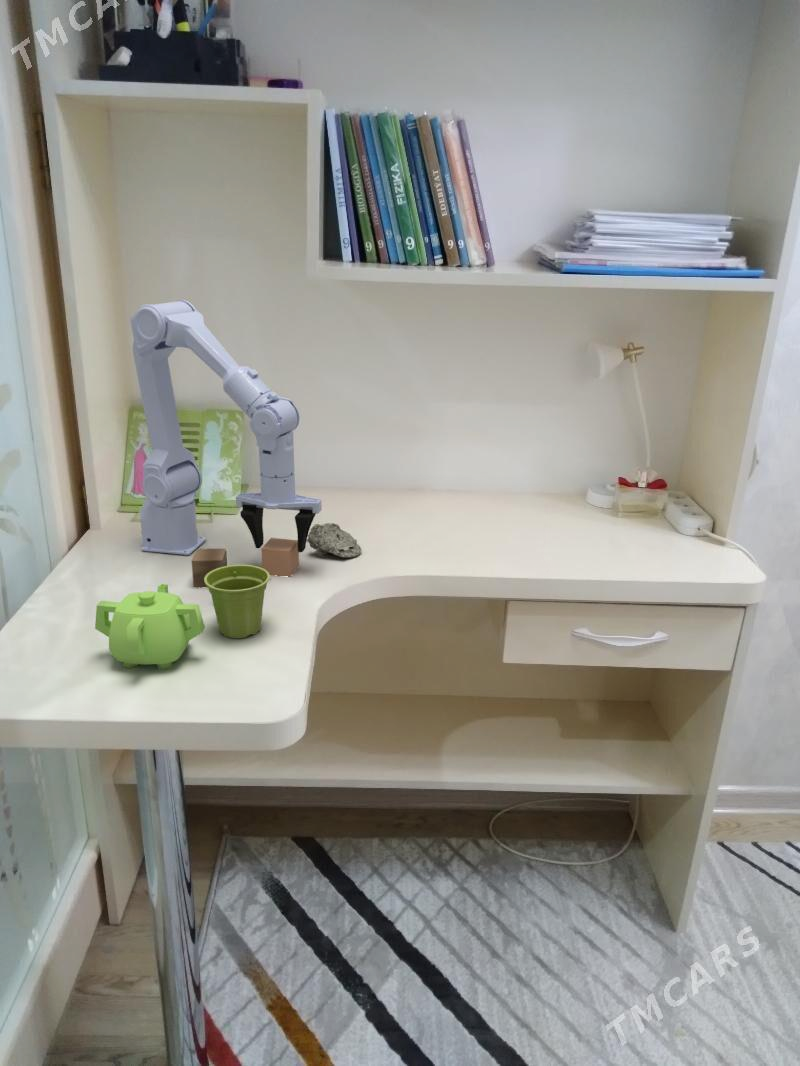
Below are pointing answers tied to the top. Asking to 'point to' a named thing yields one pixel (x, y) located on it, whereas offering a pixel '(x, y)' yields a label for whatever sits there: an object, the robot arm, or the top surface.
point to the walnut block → (206, 564)
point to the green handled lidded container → (149, 627)
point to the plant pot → (238, 598)
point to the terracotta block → (280, 556)
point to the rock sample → (333, 540)
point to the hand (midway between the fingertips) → (280, 548)
